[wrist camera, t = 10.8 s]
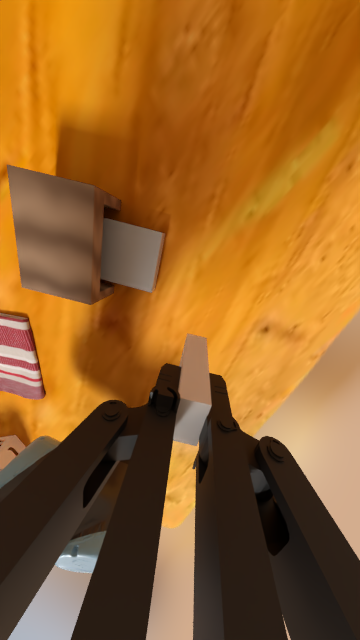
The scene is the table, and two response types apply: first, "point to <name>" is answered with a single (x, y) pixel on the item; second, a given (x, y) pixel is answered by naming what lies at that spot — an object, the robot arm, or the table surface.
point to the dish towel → (19, 358)
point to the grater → (4, 456)
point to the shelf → (59, 234)
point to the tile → (130, 255)
